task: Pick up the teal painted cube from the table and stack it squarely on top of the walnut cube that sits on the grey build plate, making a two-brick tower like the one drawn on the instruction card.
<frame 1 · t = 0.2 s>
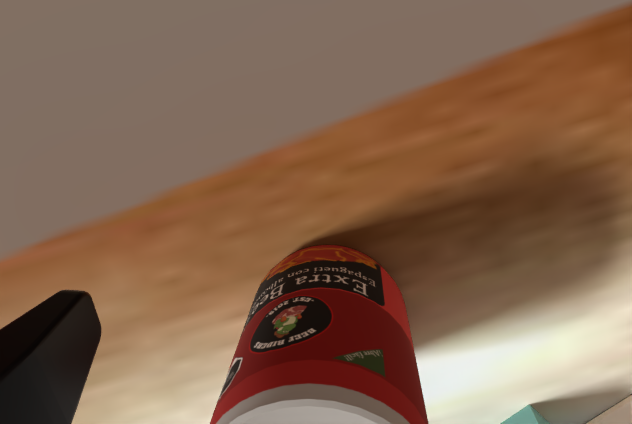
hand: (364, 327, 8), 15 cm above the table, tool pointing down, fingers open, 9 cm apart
canned food: (329, 308, 26), on the table
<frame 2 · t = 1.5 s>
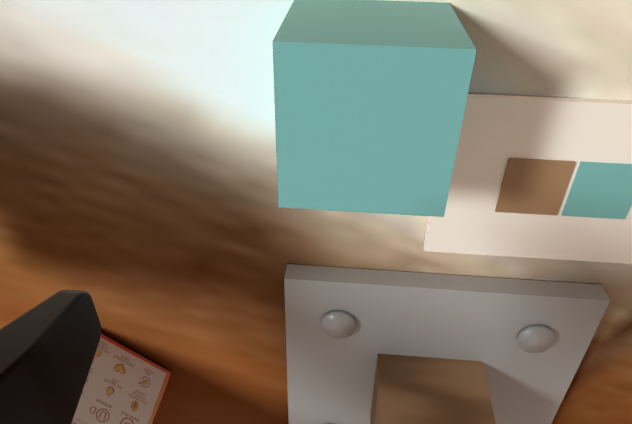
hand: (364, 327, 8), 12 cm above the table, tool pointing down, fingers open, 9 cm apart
build plate: (420, 373, 27), on the table
teal cube: (366, 74, 18), on the table
walnut cube: (422, 389, 26), point 1 cm above the table, touching build plate
cracker box: (81, 395, 31), on the table
instruction card: (565, 184, 20), on the table
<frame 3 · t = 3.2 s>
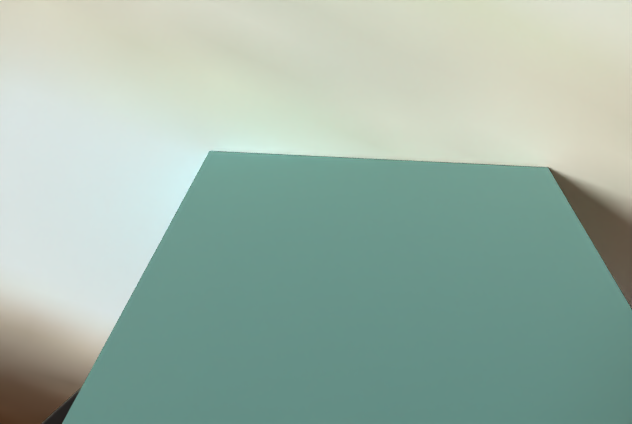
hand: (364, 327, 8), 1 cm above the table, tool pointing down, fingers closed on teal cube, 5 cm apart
teal cube: (364, 283, 9), on the table, touching gripper
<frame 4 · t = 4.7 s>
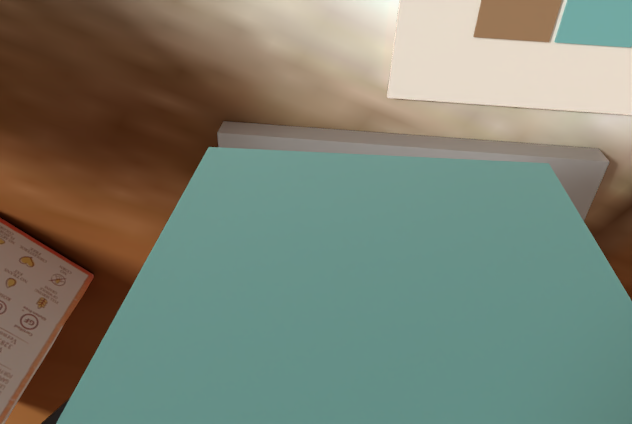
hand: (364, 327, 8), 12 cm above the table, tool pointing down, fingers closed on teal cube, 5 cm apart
build plate: (385, 274, 23), on the table
teal cube: (364, 280, 9), point 11 cm above the table, touching gripper
instruction card: (560, 0, 16), on the table
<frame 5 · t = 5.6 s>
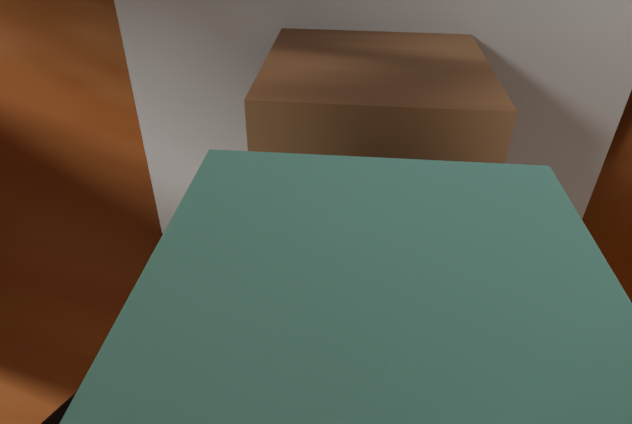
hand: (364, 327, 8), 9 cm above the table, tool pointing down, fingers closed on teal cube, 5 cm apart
build plate: (368, 105, 16), on the table
teal cube: (364, 282, 9), point 8 cm above the table, touching gripper
walnut cube: (368, 118, 15), point 1 cm above the table, touching build plate
when the fingers open (8 cm above the table, at t = 6.1 s): teal cube drops 1 cm, resting on walnut cube.
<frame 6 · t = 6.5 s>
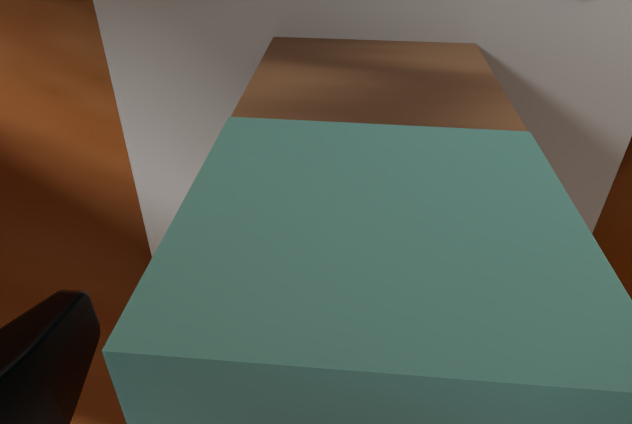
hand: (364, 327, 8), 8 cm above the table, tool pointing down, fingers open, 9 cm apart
build plate: (366, 116, 15), on the table
teal cube: (366, 242, 10), point 6 cm above the table, touching walnut cube
walnut cube: (366, 131, 14), point 1 cm above the table, touching build plate, teal cube
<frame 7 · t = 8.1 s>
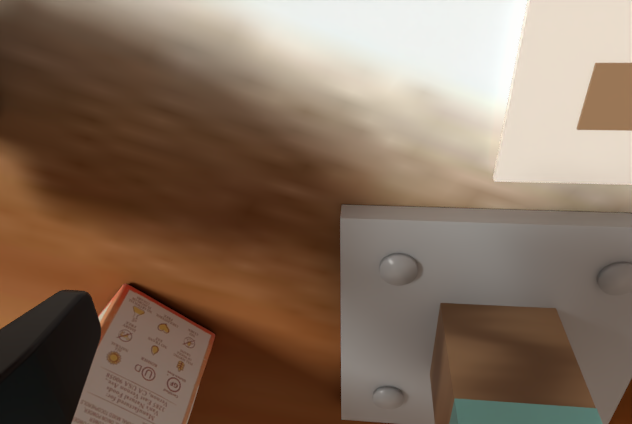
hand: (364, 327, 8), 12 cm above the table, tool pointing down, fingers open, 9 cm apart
build plate: (484, 327, 25), on the table
walnut cube: (488, 343, 24), point 1 cm above the table, touching build plate, teal cube
cracker box: (122, 364, 30), on the table
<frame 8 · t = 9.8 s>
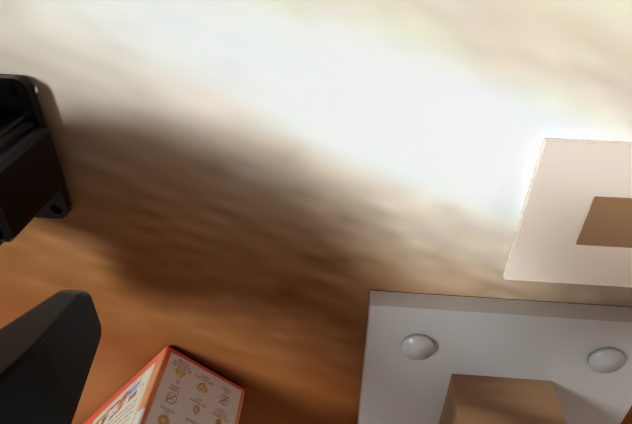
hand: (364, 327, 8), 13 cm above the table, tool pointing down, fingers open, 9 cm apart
build plate: (487, 390, 28), on the table
walnut cube: (490, 406, 27), point 1 cm above the table, touching build plate, teal cube
cracker box: (153, 411, 32), on the table
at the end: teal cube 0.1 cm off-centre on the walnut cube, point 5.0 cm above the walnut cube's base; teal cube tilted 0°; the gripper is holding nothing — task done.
